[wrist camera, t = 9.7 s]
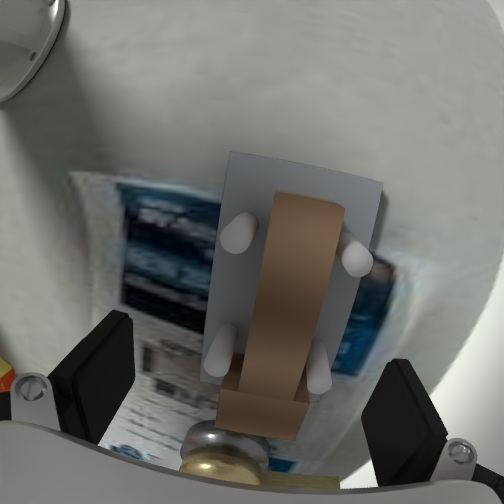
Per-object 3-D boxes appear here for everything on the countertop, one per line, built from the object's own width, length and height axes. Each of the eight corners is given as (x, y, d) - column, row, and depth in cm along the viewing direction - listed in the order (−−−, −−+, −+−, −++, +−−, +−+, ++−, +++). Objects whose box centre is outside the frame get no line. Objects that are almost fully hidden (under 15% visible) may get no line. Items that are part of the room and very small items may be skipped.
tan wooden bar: (259, 186, 17) (251, 189, 13) (348, 203, 17) (366, 212, 13) (225, 389, 21) (214, 427, 17) (294, 401, 21) (294, 440, 17)
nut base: (187, 411, 24) (181, 426, 22) (278, 429, 23) (277, 446, 21) (184, 477, 27) (179, 490, 25) (253, 491, 26) (252, 505, 25)
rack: (233, 152, 18) (214, 145, 13) (377, 181, 18) (409, 186, 12) (202, 371, 22) (184, 416, 17) (317, 392, 22) (321, 440, 17)
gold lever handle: (183, 476, 23) (175, 499, 20) (184, 436, 21) (174, 463, 18) (323, 496, 22) (324, 520, 19) (349, 460, 20) (354, 487, 18)
